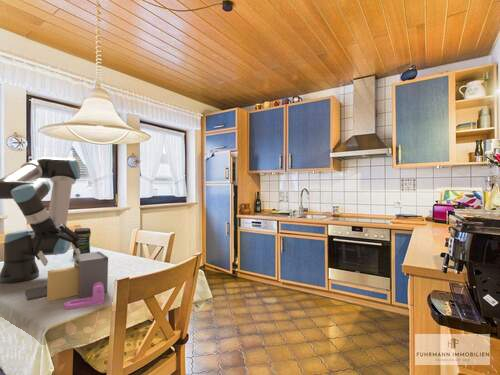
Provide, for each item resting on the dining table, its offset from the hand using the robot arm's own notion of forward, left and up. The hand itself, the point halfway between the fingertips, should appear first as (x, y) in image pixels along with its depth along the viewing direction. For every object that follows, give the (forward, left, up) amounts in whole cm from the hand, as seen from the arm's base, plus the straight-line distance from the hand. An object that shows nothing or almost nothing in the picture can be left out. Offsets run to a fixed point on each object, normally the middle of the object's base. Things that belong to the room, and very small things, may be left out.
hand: (62, 258), depth 122 cm
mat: (+3, -4, -12) cm, 13 cm away
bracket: (+27, +3, -13) cm, 30 cm away
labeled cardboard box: (+13, +1, -13) cm, 18 cm away
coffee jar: (-56, +18, -13) cm, 60 cm away
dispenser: (+13, +8, -12) cm, 20 cm away
